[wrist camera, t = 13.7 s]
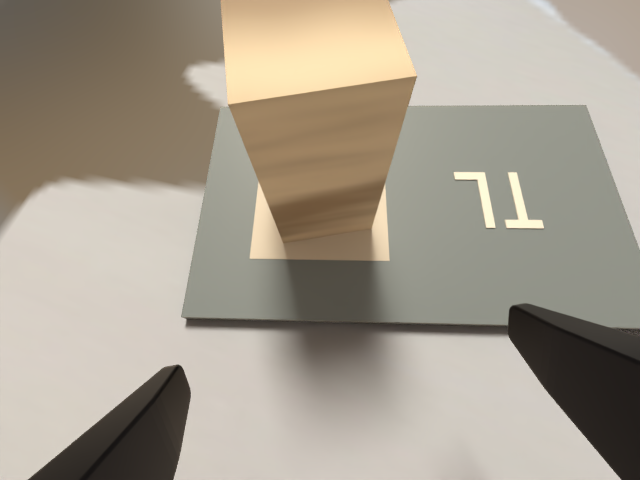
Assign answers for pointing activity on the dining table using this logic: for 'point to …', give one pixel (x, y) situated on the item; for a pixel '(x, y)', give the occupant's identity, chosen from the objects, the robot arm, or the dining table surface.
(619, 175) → the dining table surface
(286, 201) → the maple block
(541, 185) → the slate board
